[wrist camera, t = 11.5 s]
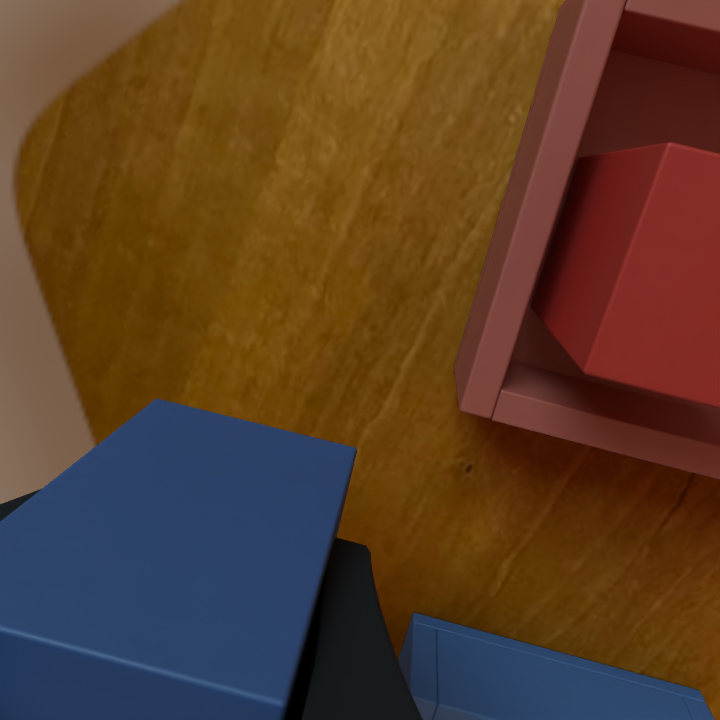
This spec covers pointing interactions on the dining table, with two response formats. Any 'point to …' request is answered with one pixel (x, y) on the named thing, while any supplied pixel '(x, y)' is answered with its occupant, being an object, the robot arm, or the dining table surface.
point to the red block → (640, 271)
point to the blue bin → (527, 681)
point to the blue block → (170, 572)
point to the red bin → (543, 209)
